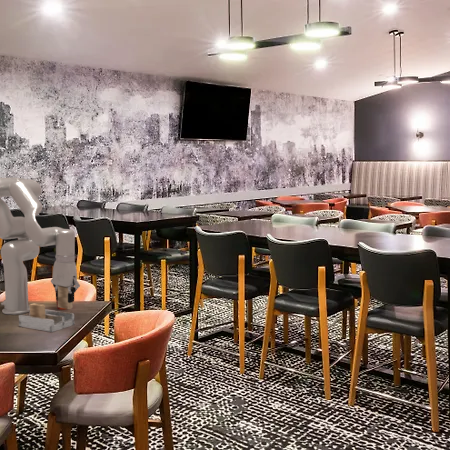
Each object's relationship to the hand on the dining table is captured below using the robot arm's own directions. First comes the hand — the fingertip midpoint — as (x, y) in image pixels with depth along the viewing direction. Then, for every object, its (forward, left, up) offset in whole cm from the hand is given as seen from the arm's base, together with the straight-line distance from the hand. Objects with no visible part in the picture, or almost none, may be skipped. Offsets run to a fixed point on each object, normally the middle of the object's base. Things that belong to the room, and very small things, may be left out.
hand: (65, 300), depth 253 cm
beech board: (0, 0, -3) cm, 3 cm away
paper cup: (-14, +13, -8) cm, 21 cm away
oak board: (-1, -15, -8) cm, 17 cm away
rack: (+1, -12, -8) cm, 14 cm away
